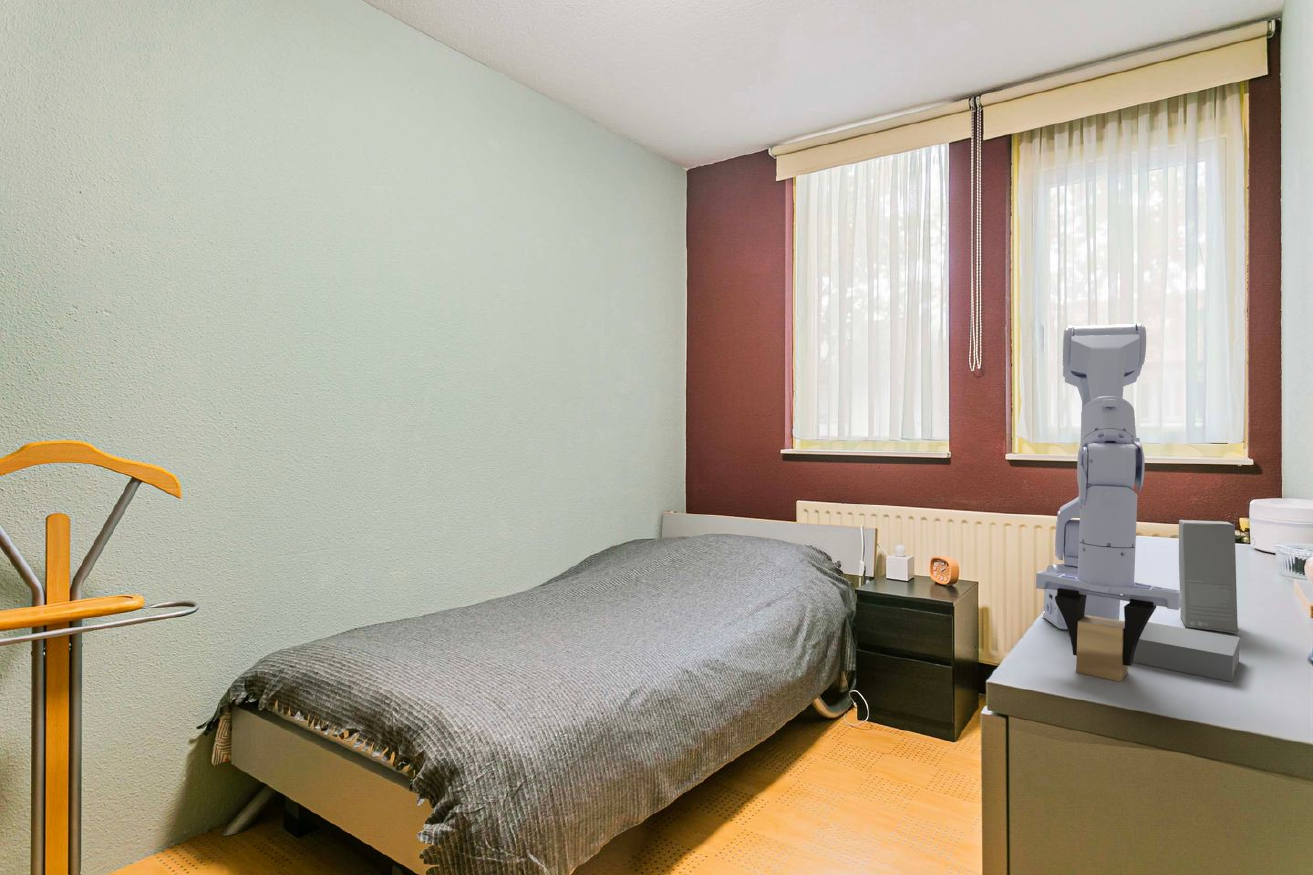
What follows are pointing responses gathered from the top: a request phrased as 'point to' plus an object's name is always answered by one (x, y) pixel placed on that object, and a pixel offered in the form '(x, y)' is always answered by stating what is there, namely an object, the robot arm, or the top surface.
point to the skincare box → (1208, 575)
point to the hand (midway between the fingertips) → (1102, 658)
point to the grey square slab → (1188, 651)
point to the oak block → (1101, 648)
